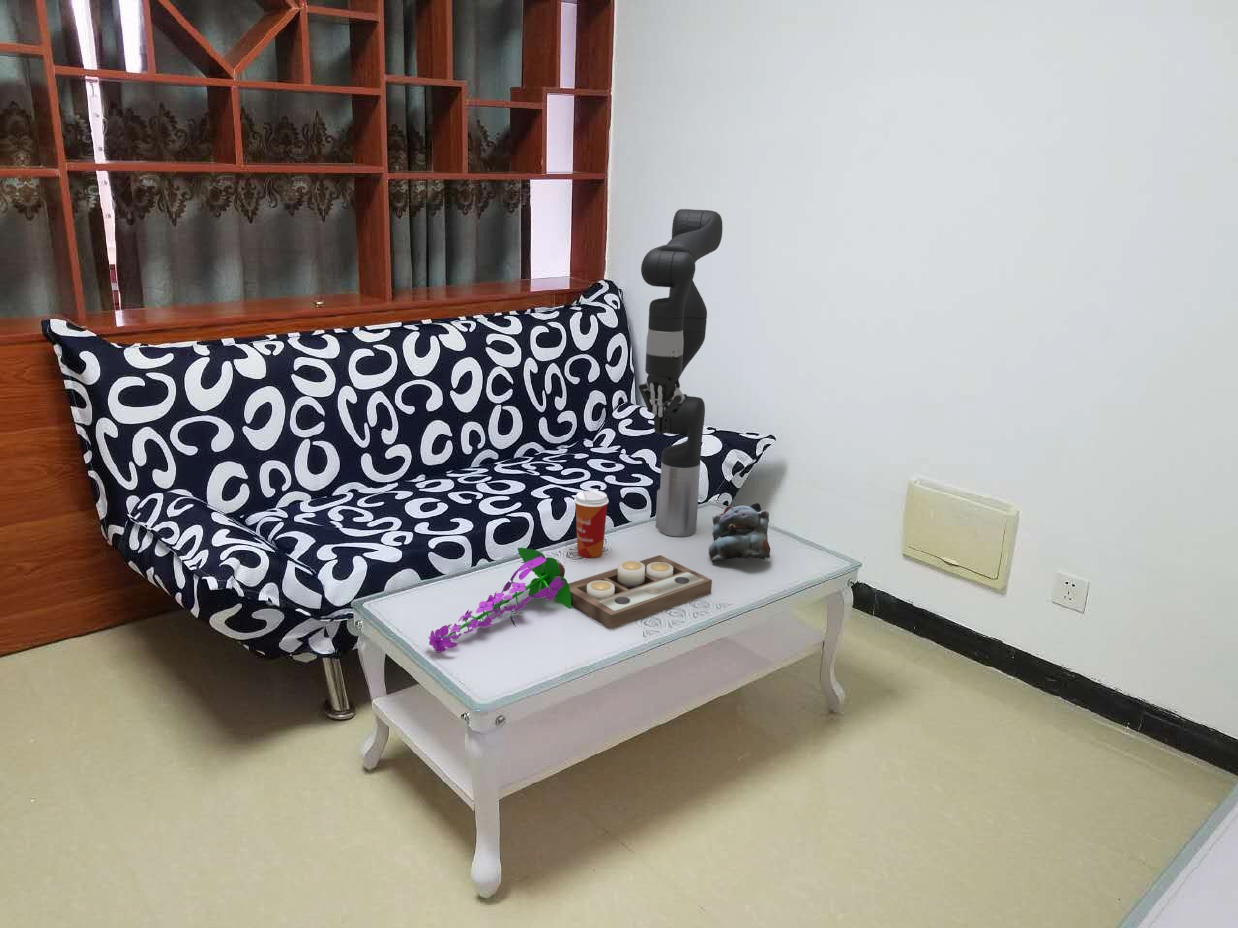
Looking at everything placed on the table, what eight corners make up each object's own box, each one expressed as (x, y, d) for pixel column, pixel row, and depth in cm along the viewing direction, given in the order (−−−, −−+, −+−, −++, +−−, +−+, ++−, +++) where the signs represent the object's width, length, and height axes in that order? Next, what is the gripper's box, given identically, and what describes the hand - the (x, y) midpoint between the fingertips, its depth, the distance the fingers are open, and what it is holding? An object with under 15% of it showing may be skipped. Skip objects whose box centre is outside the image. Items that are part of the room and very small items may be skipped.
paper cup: (567, 549, 220) (569, 491, 216) (598, 544, 223) (600, 487, 219) (581, 562, 214) (582, 502, 209) (612, 557, 217) (614, 498, 212)
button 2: (640, 579, 205) (641, 565, 204) (660, 572, 208) (660, 559, 207) (658, 588, 201) (659, 574, 200) (678, 581, 204) (678, 567, 203)
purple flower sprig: (576, 613, 199) (458, 697, 172) (521, 560, 203) (397, 633, 177) (600, 575, 192) (480, 656, 165) (542, 521, 196) (416, 591, 170)
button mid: (611, 578, 199) (612, 564, 198) (632, 571, 202) (633, 557, 201) (629, 587, 195) (630, 573, 194) (650, 580, 198) (650, 566, 197)
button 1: (580, 598, 195) (581, 584, 194) (602, 591, 198) (602, 577, 197) (598, 608, 191) (598, 594, 190) (619, 601, 194) (620, 586, 193)
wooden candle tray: (560, 599, 196) (560, 584, 195) (659, 567, 212) (660, 553, 211) (610, 629, 184) (611, 613, 183) (711, 593, 201) (712, 578, 200)
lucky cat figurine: (696, 561, 216) (697, 499, 219) (723, 566, 225) (724, 507, 228) (756, 559, 207) (757, 495, 210) (782, 564, 217) (781, 503, 220)
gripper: (629, 347, 199) (626, 428, 204) (673, 358, 189) (668, 443, 195) (656, 344, 204) (652, 423, 209) (700, 354, 194) (695, 437, 199)
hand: (660, 432), depth 202 cm, fingers closed
